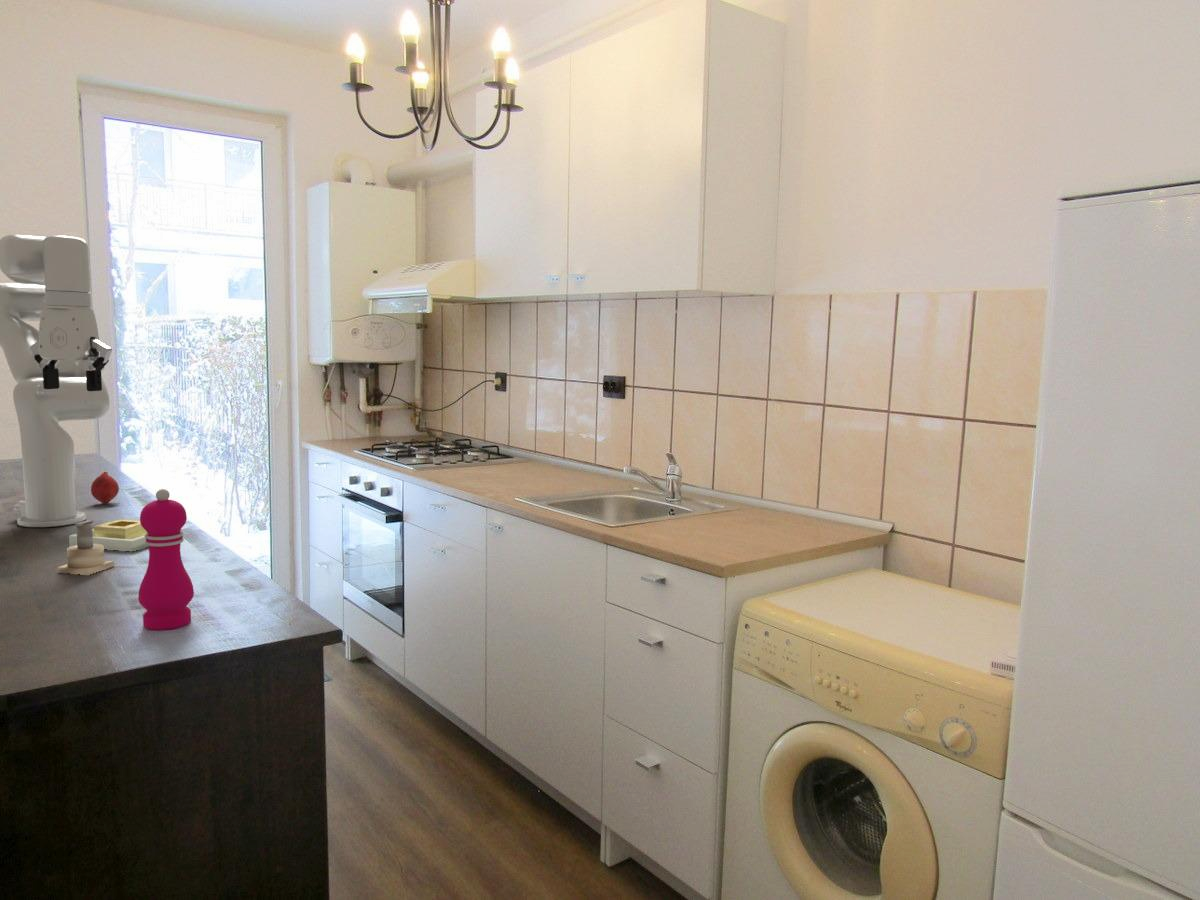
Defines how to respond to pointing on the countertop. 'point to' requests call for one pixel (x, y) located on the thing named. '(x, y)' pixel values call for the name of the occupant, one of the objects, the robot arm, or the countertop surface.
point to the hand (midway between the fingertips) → (72, 389)
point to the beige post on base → (85, 553)
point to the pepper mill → (165, 566)
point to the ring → (120, 529)
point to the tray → (114, 542)
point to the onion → (104, 488)
